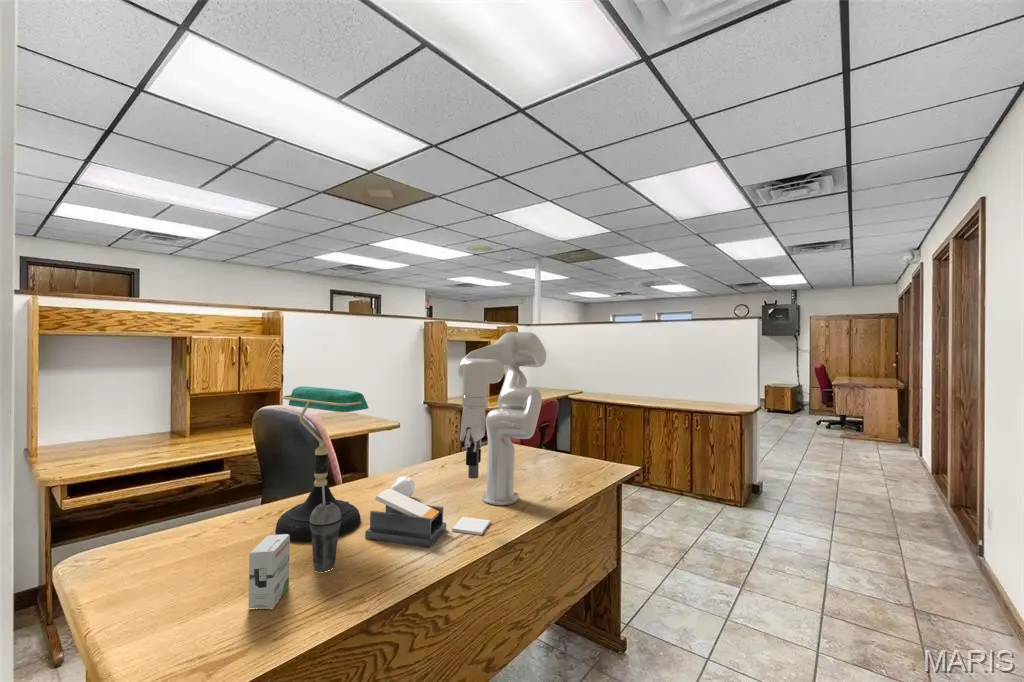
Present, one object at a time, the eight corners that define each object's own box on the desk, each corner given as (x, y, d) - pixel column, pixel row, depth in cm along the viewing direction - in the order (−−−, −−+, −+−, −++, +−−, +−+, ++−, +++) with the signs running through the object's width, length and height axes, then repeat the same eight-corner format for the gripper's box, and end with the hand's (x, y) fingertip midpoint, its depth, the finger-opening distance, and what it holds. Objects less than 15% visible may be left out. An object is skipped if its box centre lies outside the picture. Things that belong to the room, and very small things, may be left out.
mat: (462, 519, 139) (462, 516, 139) (490, 522, 137) (490, 520, 137) (451, 531, 130) (452, 528, 130) (481, 535, 128) (481, 532, 128)
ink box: (266, 587, 98) (268, 533, 98) (289, 586, 99) (291, 533, 99) (246, 611, 90) (248, 552, 90) (272, 610, 90) (273, 551, 90)
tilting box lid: (375, 499, 126) (376, 495, 126) (387, 491, 133) (388, 487, 132) (428, 525, 122) (429, 520, 122) (438, 515, 129) (439, 511, 129)
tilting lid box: (365, 538, 124) (366, 512, 124) (387, 521, 135) (387, 498, 135) (429, 547, 119) (429, 521, 119) (446, 529, 131) (446, 505, 131)
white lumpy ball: (403, 493, 160) (403, 471, 160) (419, 497, 156) (419, 475, 156) (386, 499, 153) (387, 477, 153) (402, 504, 149) (403, 481, 149)
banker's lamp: (381, 519, 136) (385, 388, 136) (320, 551, 116) (325, 396, 116) (318, 504, 148) (322, 382, 148) (252, 530, 127) (256, 388, 127)
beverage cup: (347, 563, 109) (349, 482, 109) (325, 578, 103) (328, 491, 103) (323, 558, 112) (325, 478, 112) (300, 572, 105) (303, 487, 105)
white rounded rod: (470, 475, 135) (470, 435, 135) (479, 476, 134) (480, 436, 134) (466, 478, 132) (467, 437, 132) (476, 479, 131) (477, 438, 131)
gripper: (471, 397, 142) (470, 455, 142) (453, 405, 126) (451, 470, 126) (494, 399, 140) (492, 457, 140) (478, 406, 124) (476, 472, 124)
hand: (473, 463), depth 133 cm, fingers closed on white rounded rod, 3 cm apart
